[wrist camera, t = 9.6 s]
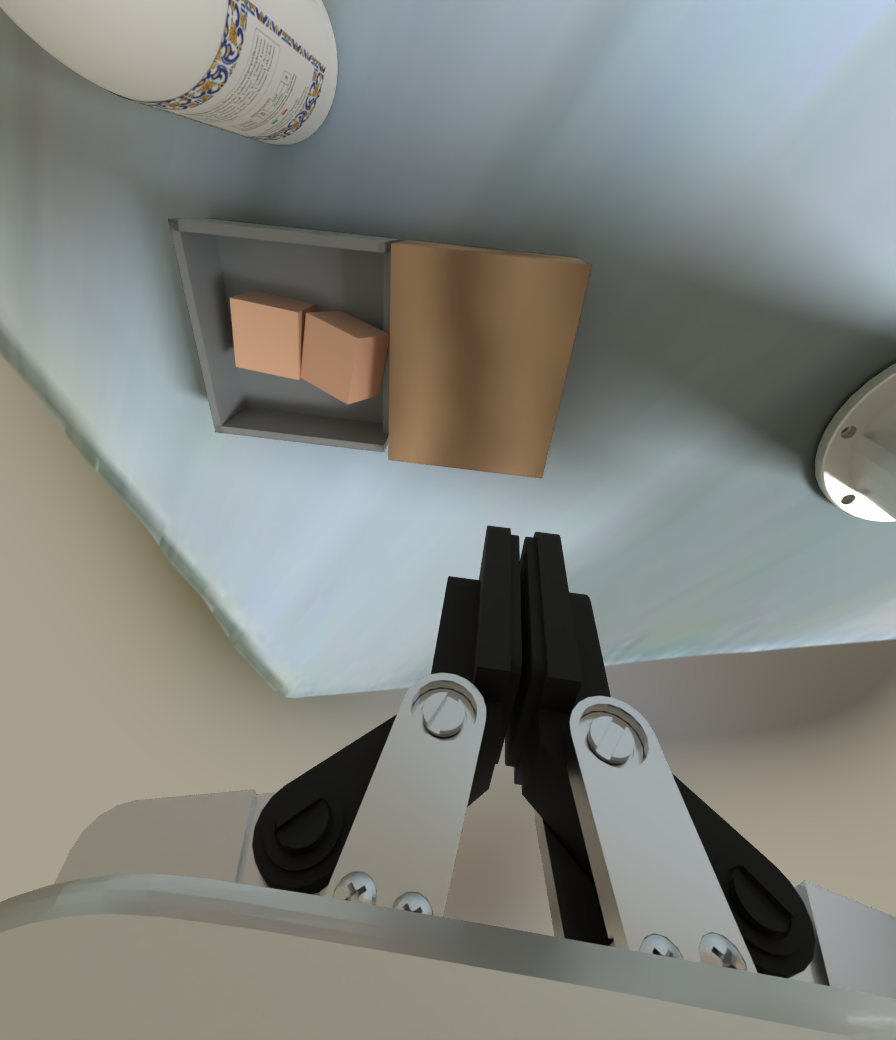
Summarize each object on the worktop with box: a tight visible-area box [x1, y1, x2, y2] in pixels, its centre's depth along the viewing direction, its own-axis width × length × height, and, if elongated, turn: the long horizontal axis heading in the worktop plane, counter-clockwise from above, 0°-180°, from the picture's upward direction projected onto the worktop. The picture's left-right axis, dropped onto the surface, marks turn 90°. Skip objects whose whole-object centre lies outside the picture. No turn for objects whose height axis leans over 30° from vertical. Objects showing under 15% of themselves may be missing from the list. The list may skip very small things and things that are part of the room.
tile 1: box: [300, 311, 390, 404], centre depth 28 cm, size 4×4×3 cm
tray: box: [168, 218, 399, 452], centre depth 28 cm, size 12×12×4 cm
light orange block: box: [230, 291, 315, 380], centre depth 28 cm, size 4×4×3 cm
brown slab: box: [388, 240, 592, 478], centre depth 28 cm, size 10×12×5 cm
